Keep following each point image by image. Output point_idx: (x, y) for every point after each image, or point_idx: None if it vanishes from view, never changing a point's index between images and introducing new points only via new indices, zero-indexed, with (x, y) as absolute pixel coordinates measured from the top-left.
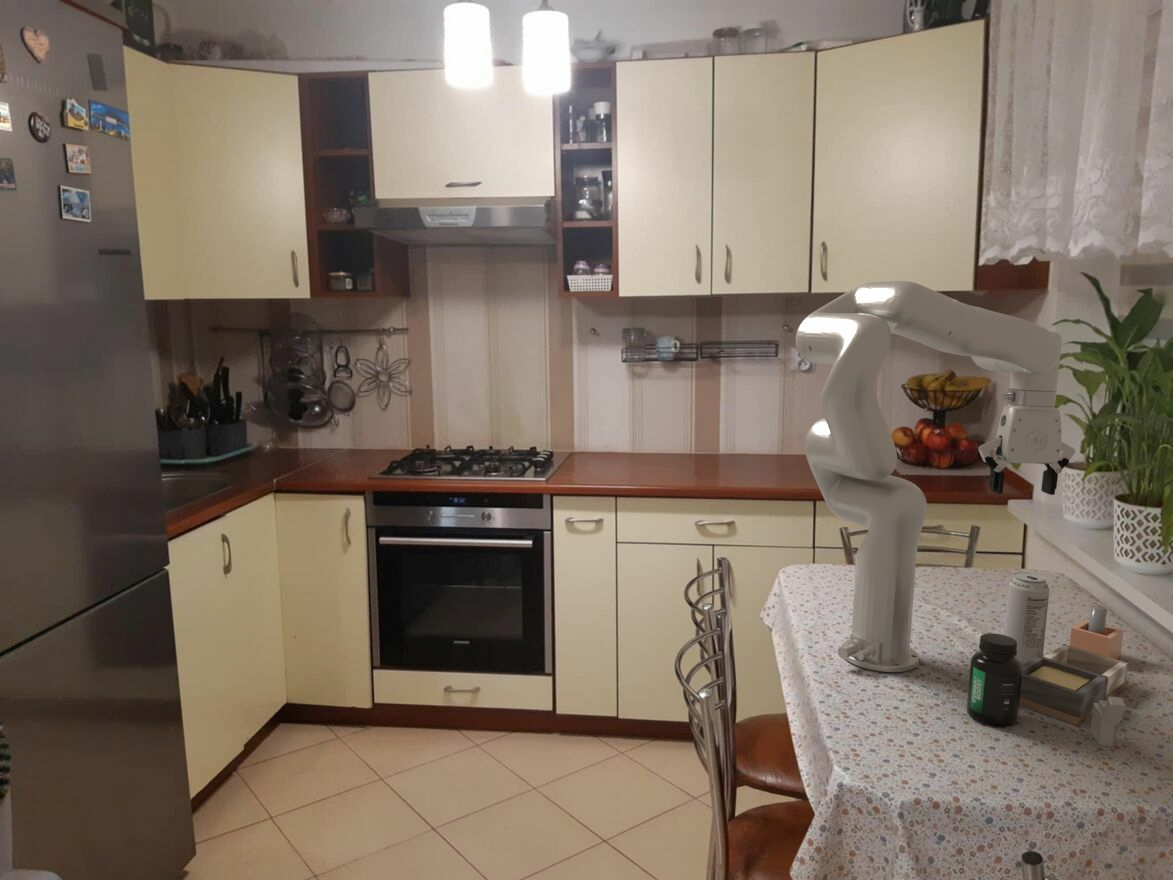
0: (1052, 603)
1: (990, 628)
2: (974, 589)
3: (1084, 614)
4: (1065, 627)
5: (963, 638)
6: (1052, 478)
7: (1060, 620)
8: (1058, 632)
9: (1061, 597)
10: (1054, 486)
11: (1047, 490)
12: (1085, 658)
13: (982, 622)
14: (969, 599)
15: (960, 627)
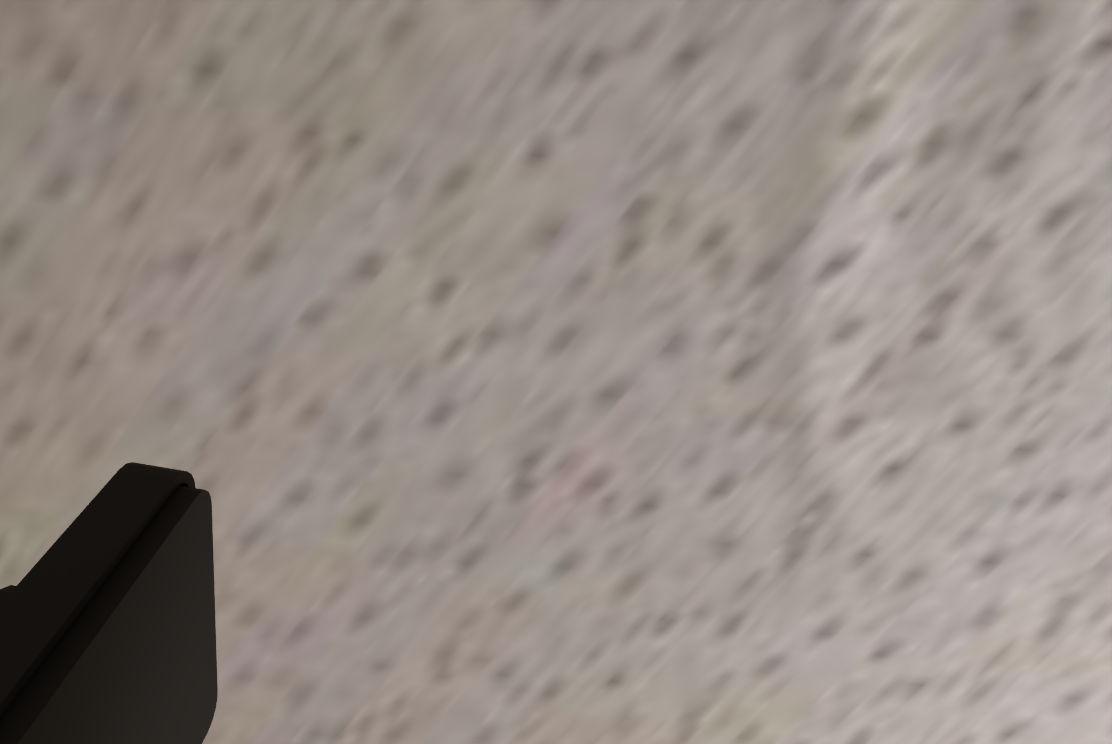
0: (173, 386)
1: (752, 126)
2: (453, 606)
3: (92, 224)
4: (313, 69)
5: (1028, 9)
6: (21, 727)
7: (276, 168)
8: (402, 4)
9: (79, 447)
10: (68, 560)
11: (190, 603)
12: None
13: (731, 214)
14: (569, 503)
15: (912, 168)
